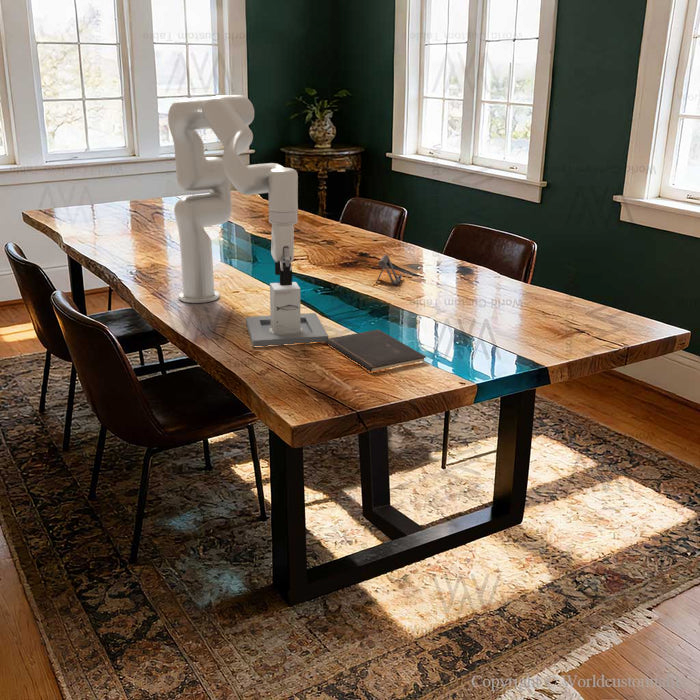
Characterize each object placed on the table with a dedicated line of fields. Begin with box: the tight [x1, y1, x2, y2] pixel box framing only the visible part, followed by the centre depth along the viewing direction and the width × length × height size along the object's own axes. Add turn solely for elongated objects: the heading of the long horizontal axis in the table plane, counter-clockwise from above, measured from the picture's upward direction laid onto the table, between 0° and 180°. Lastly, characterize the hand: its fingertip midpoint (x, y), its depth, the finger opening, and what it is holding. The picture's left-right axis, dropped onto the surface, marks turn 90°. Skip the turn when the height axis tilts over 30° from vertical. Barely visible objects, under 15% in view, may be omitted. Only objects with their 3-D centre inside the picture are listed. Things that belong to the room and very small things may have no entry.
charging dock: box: [245, 312, 329, 348], centre depth 217 cm, size 20×20×2 cm
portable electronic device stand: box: [375, 254, 403, 287], centre depth 266 cm, size 9×8×8 cm
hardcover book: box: [326, 328, 427, 372], centre depth 203 cm, size 16×23×2 cm
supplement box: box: [269, 281, 301, 334], centre depth 215 cm, size 7×7×13 cm
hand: (283, 279), depth 213 cm, fingers open, 9 cm apart
